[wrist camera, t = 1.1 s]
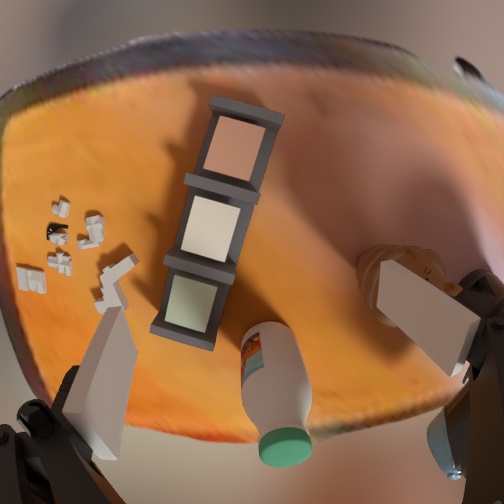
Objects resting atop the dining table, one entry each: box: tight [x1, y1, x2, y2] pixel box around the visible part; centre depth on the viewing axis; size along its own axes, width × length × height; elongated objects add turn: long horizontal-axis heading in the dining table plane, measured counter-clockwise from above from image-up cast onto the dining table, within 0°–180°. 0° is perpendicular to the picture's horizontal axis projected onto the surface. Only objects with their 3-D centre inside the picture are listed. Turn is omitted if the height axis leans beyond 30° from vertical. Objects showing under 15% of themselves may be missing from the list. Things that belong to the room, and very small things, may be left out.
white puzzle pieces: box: [16, 200, 139, 314], centre depth 34 cm, size 20×24×2 cm
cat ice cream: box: [356, 245, 463, 327], centre depth 28 cm, size 9×8×18 cm
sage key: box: [165, 270, 219, 333], centre depth 33 cm, size 5×6×2 cm
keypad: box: [150, 95, 285, 352], centre depth 33 cm, size 8×28×6 cm, turn 163°
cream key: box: [181, 195, 241, 262], centre depth 32 cm, size 5×6×2 cm
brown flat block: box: [203, 116, 266, 182], centre depth 30 cm, size 5×6×2 cm
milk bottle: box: [241, 321, 312, 467], centre depth 29 cm, size 8×8×20 cm
